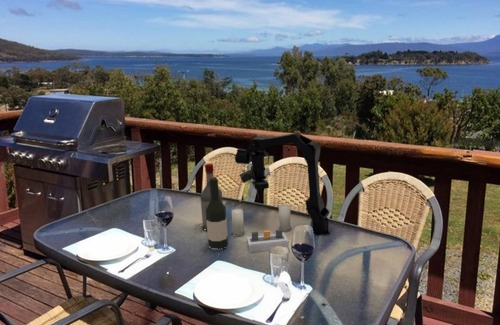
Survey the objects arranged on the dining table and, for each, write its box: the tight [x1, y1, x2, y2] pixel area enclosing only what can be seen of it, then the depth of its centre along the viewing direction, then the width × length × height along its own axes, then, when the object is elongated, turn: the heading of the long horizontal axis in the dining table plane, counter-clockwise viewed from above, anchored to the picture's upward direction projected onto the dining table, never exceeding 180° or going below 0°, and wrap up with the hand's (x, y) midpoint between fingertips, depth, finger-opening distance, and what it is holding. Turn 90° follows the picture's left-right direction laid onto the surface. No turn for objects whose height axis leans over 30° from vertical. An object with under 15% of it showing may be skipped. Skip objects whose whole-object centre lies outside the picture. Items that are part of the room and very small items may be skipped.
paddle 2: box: [275, 228, 282, 238], centre depth 174 cm, size 2×1×3 cm, turn 98°
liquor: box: [200, 163, 224, 231], centre depth 191 cm, size 9×9×30 cm
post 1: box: [231, 208, 246, 237], centre depth 186 cm, size 6×6×11 cm
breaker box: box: [246, 232, 290, 253], centre depth 174 cm, size 16×9×3 cm, turn 97°
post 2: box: [278, 203, 293, 233], centre depth 188 cm, size 6×6×11 cm
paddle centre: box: [263, 229, 271, 239], centre depth 173 cm, size 2×1×3 cm, turn 97°
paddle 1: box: [251, 230, 259, 240], centre depth 173 cm, size 2×1×3 cm, turn 97°
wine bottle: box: [206, 176, 229, 249], centre depth 172 cm, size 8×8×30 cm
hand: (259, 197), depth 195 cm, fingers closed
